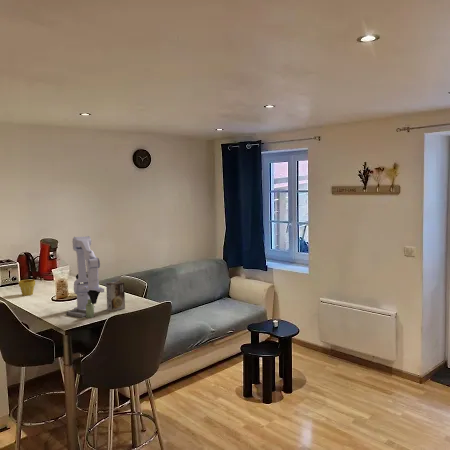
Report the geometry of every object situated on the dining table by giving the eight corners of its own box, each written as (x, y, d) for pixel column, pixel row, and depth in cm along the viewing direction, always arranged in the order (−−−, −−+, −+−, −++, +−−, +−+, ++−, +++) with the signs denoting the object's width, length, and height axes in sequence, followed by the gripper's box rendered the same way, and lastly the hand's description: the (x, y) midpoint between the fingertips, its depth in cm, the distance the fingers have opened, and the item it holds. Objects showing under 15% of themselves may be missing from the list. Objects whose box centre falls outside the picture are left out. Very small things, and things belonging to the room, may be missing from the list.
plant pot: (24, 297, 295) (23, 283, 294) (16, 295, 301) (15, 281, 301) (38, 294, 303) (38, 280, 303) (30, 292, 310) (30, 278, 309)
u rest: (77, 311, 257) (77, 308, 257) (92, 314, 251) (91, 311, 251) (66, 315, 250) (66, 311, 250) (81, 317, 244) (81, 314, 244)
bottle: (90, 315, 250) (89, 298, 249) (95, 316, 247) (95, 299, 247) (84, 317, 246) (83, 299, 245) (89, 318, 244) (89, 300, 243)
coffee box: (120, 306, 269) (119, 280, 268) (125, 308, 264) (124, 282, 263) (106, 309, 263) (105, 282, 262) (111, 311, 258) (110, 284, 257)
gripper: (78, 279, 244) (79, 303, 244) (97, 282, 236) (98, 306, 237) (88, 277, 250) (89, 301, 251) (106, 280, 242) (107, 304, 243)
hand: (94, 303), depth 244 cm, fingers closed
